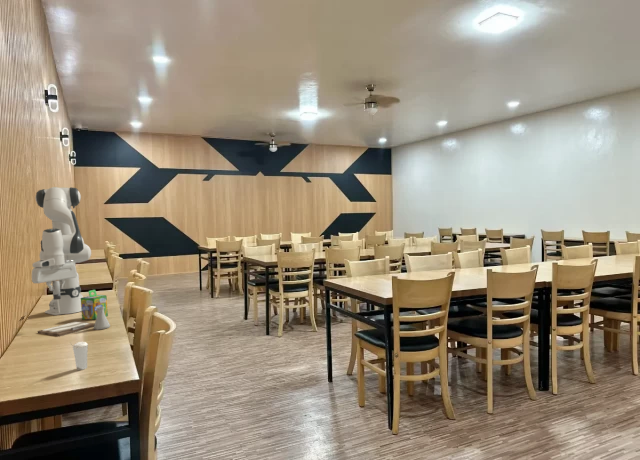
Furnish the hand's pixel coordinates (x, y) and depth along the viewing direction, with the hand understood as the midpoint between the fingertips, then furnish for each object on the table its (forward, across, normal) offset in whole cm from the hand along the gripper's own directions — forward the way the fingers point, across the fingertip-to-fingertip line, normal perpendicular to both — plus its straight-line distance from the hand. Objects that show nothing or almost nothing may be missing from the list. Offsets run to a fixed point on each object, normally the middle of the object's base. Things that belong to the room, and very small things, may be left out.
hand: (56, 289), depth 212 cm
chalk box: (+19, -20, -2) cm, 28 cm away
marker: (+4, 0, 0) cm, 4 cm away
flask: (+19, -7, +23) cm, 31 cm away
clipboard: (+19, 0, +8) cm, 21 cm away
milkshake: (+21, +33, +70) cm, 80 cm away
